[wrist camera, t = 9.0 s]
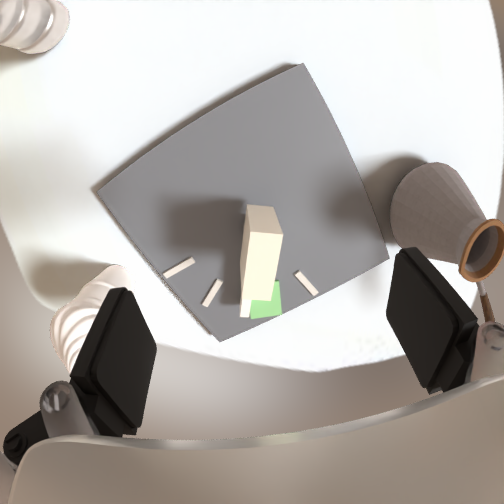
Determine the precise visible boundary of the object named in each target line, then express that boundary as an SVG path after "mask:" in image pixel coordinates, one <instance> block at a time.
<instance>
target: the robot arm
mask: <svg viewBox="0 0 504 504" xmlns="http://www.w3.org/2000/svg"><path fill="white" fill-rule="evenodd" d="M386 316H387V320H388V322H389V323H390V325H391V327H392V329H393V331H394V333H395V335H396V336H397V338H398V340H399V342H400V344H401V346H402V348H403V350H404V352H405V354H406V356H407V358H408V360H409V362H410V364H411V365H412V368H413V370H414V372H415V374H416V376H417V378H418V380H419V382H420V384H421V386H422V387H423V388H426V389H427V391H428V393H429V395H430V394H432V393H435V392H438V391H440V390H442V391H443V393H442V394H439V395H436V396H433V397H431V398H428V399H425V400H422V401H419V402H416V403H413V404H411V405H407V406H404V407H401V408H398V409H394V410H391V411H388V412H385V413H381V414H377V415H374V416H370V417H366V418H362V419H358V420H354V421H350V422H345V423H341V424H336V425H332V426H327V427H322V428H316V429H311V430H305V431H299V432H292V433H285V434H278V435H269V436H260V437H250V438H237V439H220V440H156V439H135V438H122V435H123V434H126V435H136V432H137V428H139V427H140V426H141V424H142V419H143V414H144V409H145V403H146V398H147V393H148V388H149V384H150V379H151V374H152V370H153V365H154V361H155V356H156V351H157V347H156V343H155V340H154V338H153V336H152V334H151V332H150V330H149V328H148V326H147V324H146V322H145V319H144V317H143V315H142V313H141V311H140V308H139V306H138V304H137V302H136V299H135V297H134V295H133V293H132V291H130V290H129V291H128V289H127V288H126V287H119V288H111V289H110V290H109V291H108V293H107V295H106V297H105V299H104V301H103V303H102V305H101V307H100V309H99V311H98V313H97V315H96V317H95V319H94V321H93V323H92V325H91V328H90V330H89V332H88V334H87V336H86V338H85V341H84V343H83V345H82V347H81V350H80V352H79V354H78V356H77V359H76V361H75V363H74V366H73V368H72V371H71V373H70V377H71V380H70V382H69V383H68V382H67V381H56V382H54V383H52V384H50V385H49V386H48V387H47V388H46V389H45V390H44V391H43V393H42V395H41V397H40V402H39V403H40V411H38V412H37V413H35V414H34V415H32V416H31V417H30V418H28V419H27V420H25V421H24V422H22V423H21V424H19V425H18V426H16V427H15V428H13V429H12V430H11V431H9V433H8V434H7V435H6V437H5V440H4V444H3V449H4V453H2V452H1V451H0V504H504V325H502V324H500V323H498V322H493V321H489V322H485V323H483V324H481V325H480V326H479V325H478V324H477V320H478V318H477V317H476V316H475V315H474V313H473V312H472V311H471V309H470V308H469V307H468V306H467V304H466V303H465V302H464V301H463V299H462V298H461V297H460V296H459V294H458V293H457V292H456V291H455V290H454V288H453V287H452V286H451V285H450V284H449V283H448V281H447V280H446V279H445V278H444V277H443V276H442V275H441V273H440V272H439V271H438V270H437V269H436V268H435V267H434V266H433V264H432V263H431V262H430V261H429V260H428V259H427V258H426V257H425V256H424V255H423V254H422V252H421V251H420V250H419V249H418V248H417V247H409V248H403V249H401V250H400V251H399V253H397V254H396V256H395V262H394V269H393V275H392V282H391V287H390V293H389V299H388V304H387V309H386Z"/></svg>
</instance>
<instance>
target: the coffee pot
mask: <svg viewBox="0 0 504 504" xmlns="http://www.w3.org/2000/svg"><path fill="white" fill-rule="evenodd" d="M390 224H391V228H392V232H393V236H394V237H395V239H396V241H397V243H398V244H399V246H400V247H401V248H409V247H417V248H418V249H419V250H420V251H421V252H422V254H423V255H424V256H425V257H426V258H430V259H435V260H440V261H445V262H450V263H455V264H458V266H459V270H458V271H459V273H460V274H461V275H462V277H464V278H465V279H466V280H468V281H470V282H476V284H477V287H478V290H479V293H480V298H481V303H482V307H483V312H484V317H485V322H489V321H493V322H495V318H494V315H493V312H492V309H491V305H490V302H489V299H488V296H487V293H486V292H485V288H484V284H483V279H485V278H486V277H488V276H489V275H490V274H491V273H492V272H493V271H494V270H495V269H496V267H497V266H498V265H499V263H500V261H501V259H502V257H503V255H504V224H503V223H502V222H501V221H500V220H497V219H489V220H487V219H486V217H485V216H484V214H483V212H482V210H481V209H480V207H479V205H478V203H477V202H476V200H475V198H474V197H473V195H472V193H471V192H470V190H469V189H468V187H467V185H466V184H465V182H464V181H463V179H462V178H461V177H460V175H459V174H458V172H457V171H456V170H454V169H453V168H451V167H450V166H449V165H446V164H443V163H439V162H435V163H426V164H423V165H421V166H419V167H417V168H414V169H413V170H412V171H410V172H409V173H408V174H407V175H406V176H405V177H404V178H403V179H402V181H401V182H400V183H399V185H398V186H397V189H396V191H395V193H394V195H393V198H392V202H391V207H390Z"/></svg>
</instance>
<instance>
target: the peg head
mask: <svg viewBox="0 0 504 504" xmlns="http://www.w3.org/2000/svg"><path fill="white" fill-rule="evenodd" d="M282 239H283V232H282V230H281V227H280V224H279V221H278V218H277V216H276V213H275V210H274V207H270V206H260V205H250V204H247V208H246V216H245V220H244V222H243V241H242V249H241V257H240V275H241V298H240V317H249V314H250V307H251V300H264V301H271V297H272V292H273V287H274V282H275V276H276V271H277V266H278V261H279V255H280V250H281V244H282Z"/></svg>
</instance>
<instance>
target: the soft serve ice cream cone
mask: <svg viewBox="0 0 504 504" xmlns="http://www.w3.org/2000/svg"><path fill="white" fill-rule="evenodd" d="M134 286H135V280H134V277H133V275H132V274H131V272H130V271H129V270H128V269H126V268H125V267H123V266H119V265H112V266H109V267H107V268H106V269H105V270H104V271H103V272H101V273H100V274H99V275H98V276H97V277H95V278H94V279H93V280H92V281H91V282H88V283H87V284H85V285H84V286H83V287H82V288H81V290H80V292H79V294H78V295H77V296H76V297H75V298H74V299H73V300H71V301H70V302H69V303H68V304H66V305H64V306H63V307H61V308H60V309H59V310H58V311H57V312H56V313H55V315H54V316H53V318H52V321H51V324H50V336H51V341H52V343H53V347H54V348H55V351H56V353H57V355H58V356H59V358H60V359H61V361H62V362H63V363H64V365H65V366H66V368H67V370H68V372H69V373H71V371H72V368H73V366H74V363H75V361H76V359H77V356H78V354H79V352H80V350H81V347H82V345H83V343H84V341H85V338H86V336H87V334H88V332H89V330H90V328H91V325H92V323H93V321H94V319H95V317H96V315H97V313H98V311H99V309H100V307H101V305H102V303H103V301H104V299H105V297H106V295H107V293H108V291H109V290H110V289H111V288H119V287H126V288H127V289H128V291H129V290H130V291H132V293H134Z"/></svg>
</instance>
